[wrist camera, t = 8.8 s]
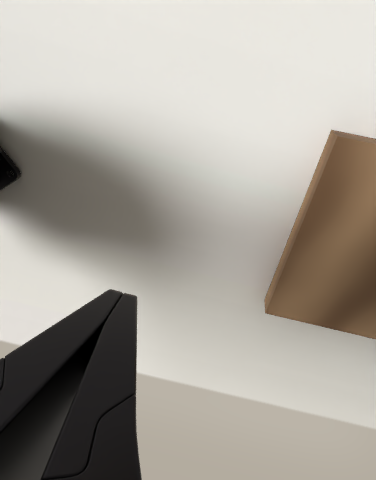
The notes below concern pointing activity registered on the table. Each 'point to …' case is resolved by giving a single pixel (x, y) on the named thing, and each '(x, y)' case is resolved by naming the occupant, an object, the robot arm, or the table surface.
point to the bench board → (333, 244)
